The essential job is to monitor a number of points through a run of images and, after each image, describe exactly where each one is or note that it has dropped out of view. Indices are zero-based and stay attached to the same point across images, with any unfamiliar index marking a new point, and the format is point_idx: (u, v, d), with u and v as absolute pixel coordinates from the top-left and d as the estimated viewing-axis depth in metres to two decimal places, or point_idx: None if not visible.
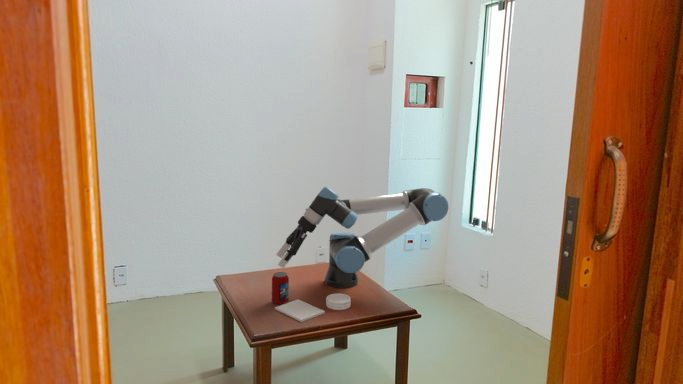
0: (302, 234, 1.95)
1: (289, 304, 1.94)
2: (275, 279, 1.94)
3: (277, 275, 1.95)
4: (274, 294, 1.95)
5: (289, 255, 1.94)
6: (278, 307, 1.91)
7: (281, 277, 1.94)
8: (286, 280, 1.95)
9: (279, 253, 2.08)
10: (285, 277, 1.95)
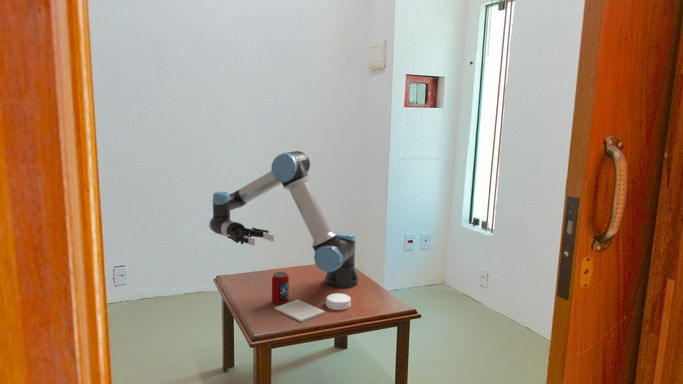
0: (228, 236, 2.08)
1: (289, 304, 1.94)
2: (275, 279, 1.94)
3: (277, 275, 1.95)
4: (274, 294, 1.95)
5: (242, 240, 2.01)
6: (278, 307, 1.91)
7: (281, 277, 1.94)
8: (286, 280, 1.95)
9: (270, 239, 2.05)
10: (285, 277, 1.95)
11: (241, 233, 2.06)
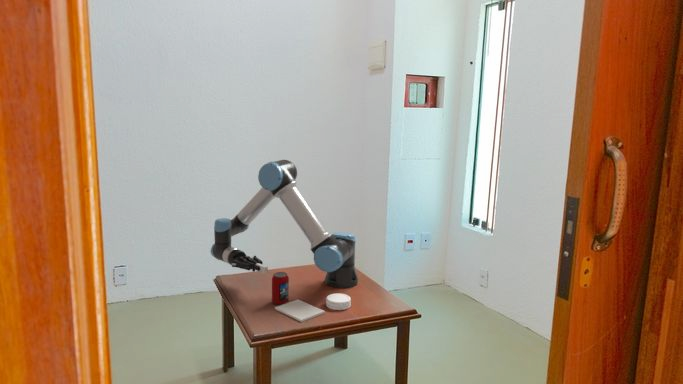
0: (233, 265, 2.09)
1: (289, 304, 1.94)
2: (275, 279, 1.94)
3: (277, 275, 1.95)
4: (274, 294, 1.95)
5: (254, 268, 2.06)
6: (278, 307, 1.91)
7: (281, 277, 1.94)
8: (286, 280, 1.95)
9: None
10: (285, 277, 1.95)
11: (247, 261, 2.10)
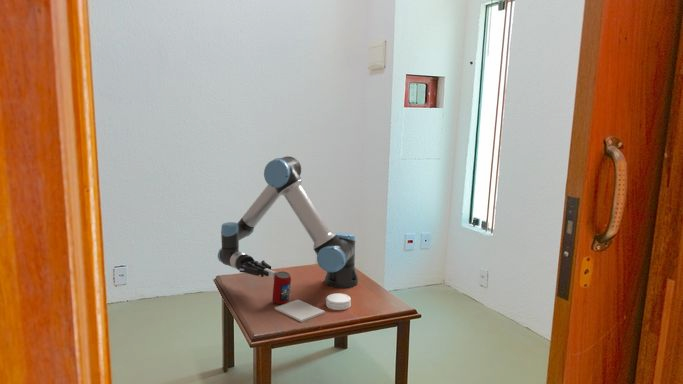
0: (241, 271, 2.04)
1: (289, 304, 1.94)
2: (278, 280, 1.92)
3: (280, 275, 1.94)
4: (275, 294, 1.94)
5: (262, 273, 2.00)
6: (278, 307, 1.91)
7: (283, 278, 1.93)
8: (288, 281, 1.94)
9: None
10: (288, 278, 1.94)
11: (256, 266, 2.05)
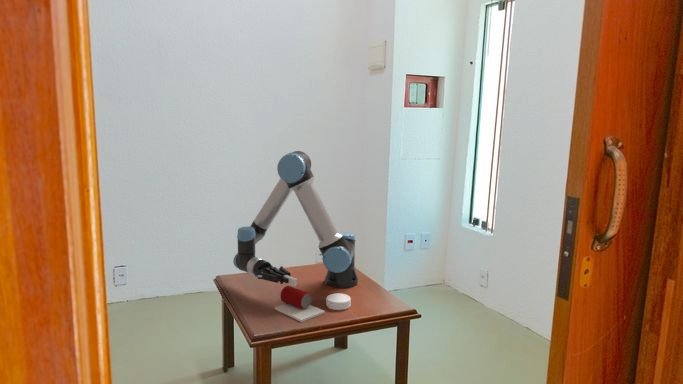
0: (259, 277, 1.96)
1: (289, 304, 1.94)
2: (298, 303, 1.88)
3: (303, 301, 1.88)
4: (286, 298, 1.91)
5: (282, 280, 1.93)
6: (278, 307, 1.91)
7: (302, 307, 1.88)
8: None
9: None
10: (304, 307, 1.90)
11: (274, 272, 1.97)
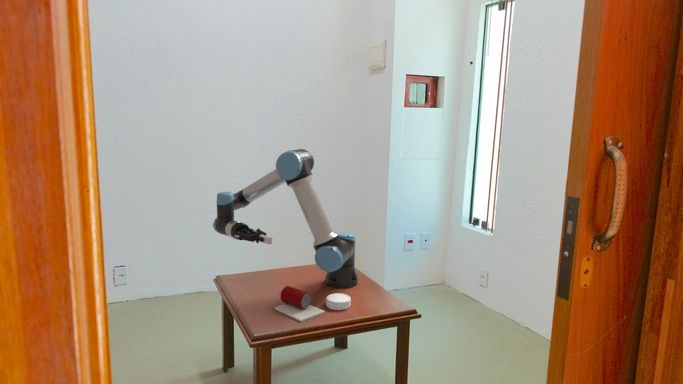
0: (236, 237, 2.05)
1: None
2: (298, 303, 1.87)
3: (303, 301, 1.88)
4: (286, 298, 1.91)
5: (257, 239, 2.02)
6: (278, 307, 1.91)
7: (302, 307, 1.88)
8: None
9: None
10: (304, 307, 1.90)
11: (251, 233, 2.06)
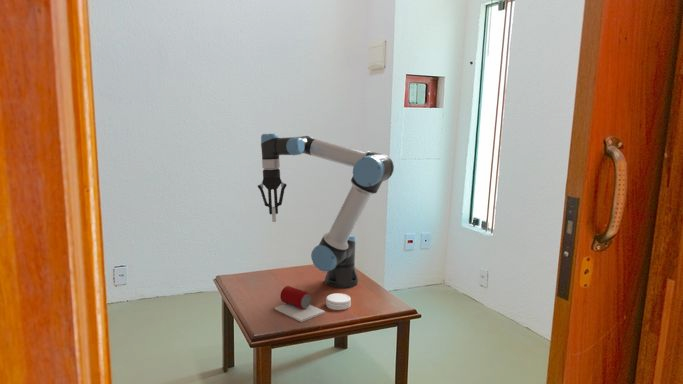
0: None
1: None
2: (298, 303, 1.87)
3: (303, 301, 1.88)
4: (286, 298, 1.91)
5: (269, 208, 2.16)
6: (278, 307, 1.91)
7: (302, 307, 1.88)
8: None
9: None
10: (304, 307, 1.90)
11: (270, 195, 2.14)
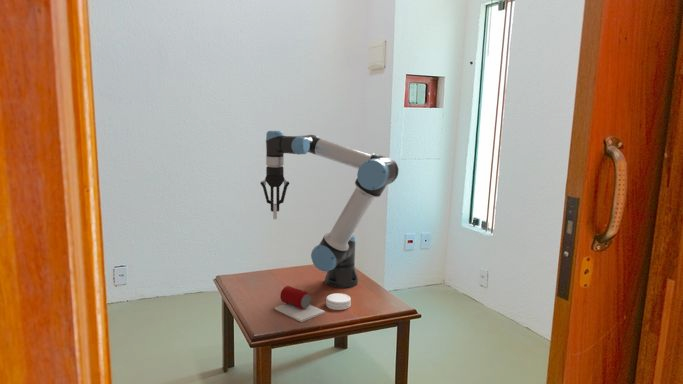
0: None
1: None
2: (298, 303, 1.87)
3: (303, 301, 1.88)
4: (286, 298, 1.91)
5: None
6: (278, 307, 1.91)
7: (302, 307, 1.88)
8: None
9: None
10: (304, 307, 1.90)
11: (272, 192, 2.14)
